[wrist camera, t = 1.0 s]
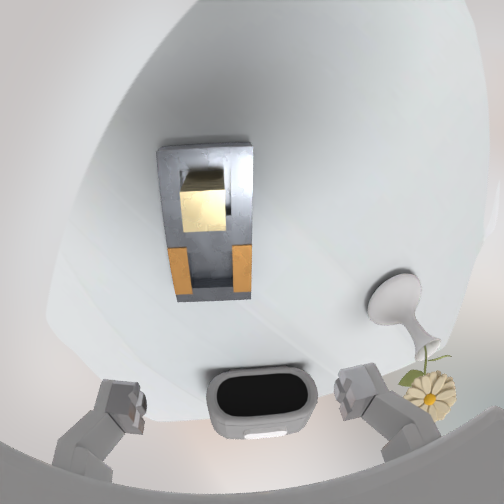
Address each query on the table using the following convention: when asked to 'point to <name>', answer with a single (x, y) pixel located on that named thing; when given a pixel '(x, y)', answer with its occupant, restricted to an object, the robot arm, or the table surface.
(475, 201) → the table surface
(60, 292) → the table surface
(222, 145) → the rail
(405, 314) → the flower in vase
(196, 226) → the brass block
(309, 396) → the alarm clock
